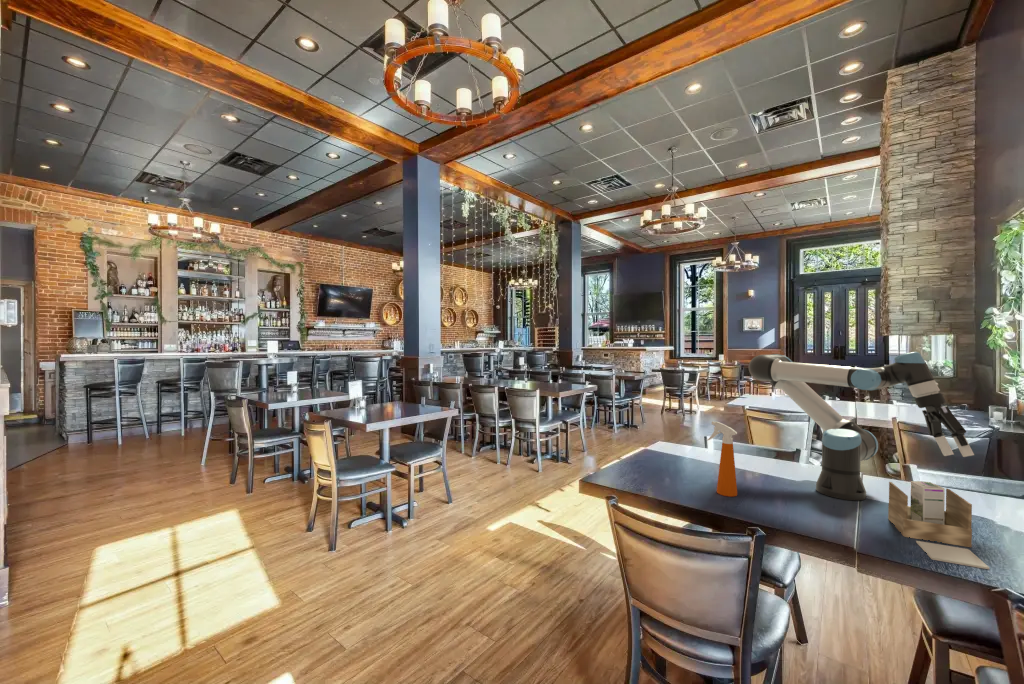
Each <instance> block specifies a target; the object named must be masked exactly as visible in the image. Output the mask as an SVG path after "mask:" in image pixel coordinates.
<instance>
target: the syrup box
mask: <svg viewBox="0 0 1024 684" xmlns="http://www.w3.org/2000/svg"><path fill="white" fill-rule="evenodd" d="M910 506H911V520H916V521H923V522H929V523H936V524H943V525H944V519H945V516H944V511H945V507H946V489H945V488H944V487H942V486H940V485H937V484H936V483H933V482H931V481H923V480H920V481H918V480H917V481H915V480H914V481H912V480H911V481H910Z"/></svg>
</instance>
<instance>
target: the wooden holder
mask: <svg viewBox="0 0 1024 684" xmlns="http://www.w3.org/2000/svg"><path fill="white" fill-rule="evenodd" d="M908 499H909V496H908V495H907V494H906V493H905V492H904V491H903V490H902V489H900V488H899V487H898V486H897V485H896V484H895V483H893V481H889V482H888V503H887V504H888V505H887V506H888V507H887V509H888V510H887V516H888V517H887V519H888V521H890V522H891V524H892V523H893V524H894V525H895V526H894V525H893V524H892V525H893V526H894V527H895V528H896V530H897V531H898V532H899V533H900V532H901V533H900V534H901V535H902V536H903V537H904V538H909V537H910V538H911V539H917V540H922V539H923V540H924V541H928V540H930V541H931V542H934V541H937V542H936V543H940V542H942V544H949V545H954V546H959V547H960V546H961V547H965V548H972V547H973V545H972V544H973V543H972V540H973V538H972V537H973V530H972V527H973V525H972V523H973V522H972V521H973V520H972V518H973V517H972V516H973V514H972V513H973V512H972V511H973V504H972V503H970V502H969V501H967V499H964V498H963V497H962V496H960V495H959V494H957V493H956V492H954V491H952V490H951V489H950V488H946V489H945V510H944V516H945V519H944V525H943V524H936V523H929V522H923V521H916V520H911V505H909V504H908V503H909V500H908ZM923 540H922V541H923ZM930 541H929V542H930Z"/></svg>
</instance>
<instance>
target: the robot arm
mask: <svg viewBox="0 0 1024 684" xmlns="http://www.w3.org/2000/svg"><path fill="white" fill-rule="evenodd" d="M748 372H749V373H750V375H751V376H752V378H753V379H756V380H757V381H760V382H769V384H771V386H772V387H773V388H775V389H776V390H777V389H778V390H782V392H784V393H785V394H786V395H787V396H788V397H789V398H790V399H791V400H792V401H793V402H794V403H795V404H796V405H797V406H798V407H799V408H800V409H801V410H802V411H803V412H804V413H806V414H807V415H808V416H809V418H810V419H812V420H813V421H814V422H815V423H816V424H817V425H818V426H819V427H820V428H821V429H822V430H823V433H822V438H821V471H820V473H819V476H818V478H817V481H816V483H815V490H816V491H817V492H818V493H820V494H822V495H825V496H827V497H831V498H836V499H839V500H845V501H846V500H847V501H864V500H866V499H867V490H866V488H865V485H864V482H863V480H862V476H861V464H862V463H861V462H863V461H867V460H869V459H871V458H873V457H874V456H875V455H876V454H877V452H878V450H879V442H878V439H877V438H876V436H875V435H874V434H873V433H872V432H870V431H869V430H867V429H864V428H861V427H860V426H859V425H857V423H856V422H854V421H853V420H852V419H851V420H849V419H845V418H844V417H843V416H842V415H841V414H839V412H837V410H835V409H834V407H832V406H831V405H830V404H829V403H828V402H827V401H826V400H824V399H823V398H822V396H820V395H819V394H818V393H817V392H816V391H815V390H814V389H812V387H810V385H808V384H807V383H810V384H817V385H828V386H838V387H846V388H847V387H848V388H853V389H858V390H863V391H877V390H881V389H884V388H887V387H891V386H896V385H899V384H903V383H906V385H907V388H908V389H909V392H910V394H911V395H912V397H914V401H915V403H916V405H917V407H918V408H919V409H923V410H921V412H922V414H923V417H924V419H925V420H924V421H925V423H926V426H927V430H928V434H929V436H931V437H933V438H934V440H935V441H936V444H937V446H938V447H939V450H940V451H941V453H942V456H943V457H947V456H952V455H955V453H954V451H953V450H952V448H951V445H950V443H949V441H948V439H947V437H946V434H945V433H944V432H943V428H942V425H943V426H944V427H945V428H946V429H947V431H949V432H950V433H951V435H950V437H951V438H952V439H953V440H954V442H955V444H956V447H957V448H958V451H959V452H960V454H961V456H962V457H963V458H966V457H972V456H975V453H974V451H973V449H972V447H971V446H970V443H969V442H968V440H967V438H966V436H965V434H966V433H967V430H966V429H965V427H964V426H963V425H962V424H961V423H960V421H959V420H958V419H957V418H956V416H955V415H954V414H953V413H952V411H951V410H950V408H949V406H948V405H945V406H942V404H946V402H947V400H946V398H945V397H944V395H943V393H941V392H940V391H941V389H940V388H939V383H938V382H937V381H936V380H935V378H934V377H933V374H932V372H931V371H930V368H929V366H928V364H927V361H925V359H924V357H923V356H922V354H921V353H920V352H918V351H912V352H908V353H903V354H899V355H897V356H895V357H894V362H893V363H891V364H887V365H883V366H880V367H868V368H866V367H852V366H841V365H832V364H831V365H829V364H818V363H807V362H805V363H803V362H795V361H793V360H791V359H790V357H787V356H786V355H783V354H778V353H773V354H772V353H771V354H759V355H757V356H754V357H753V358H752V359H751V360H750V362H749V363H748ZM924 408H925V409H924Z"/></svg>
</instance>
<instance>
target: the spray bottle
mask: <svg viewBox="0 0 1024 684" xmlns="http://www.w3.org/2000/svg"><path fill="white" fill-rule="evenodd" d="M711 425H713V426H714V427H713V429H714V430H713V432H712V434H711V435H710V436H709V437H708V438H707V439H706V440H707V441H710V440H712V439H714V438H715V437H716V436H717V435H719V434H723V437H722V442H721V450H720V459H719V468H718V477H717V482H716V483H717V484H716V493H717V494H718V495H720V496H724V497H731V498H732V497H737V496H738V487H737V484H738V483H737V474H736V464H735V461H736V460H735V453H734V444H733V443H734V437H733V436H735V435H737V434H738V431H736V430H735V429H733V428H732V427H730V426H728V425H726V424H724V423H722V422H719V421H713V420H712V421H711Z"/></svg>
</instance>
